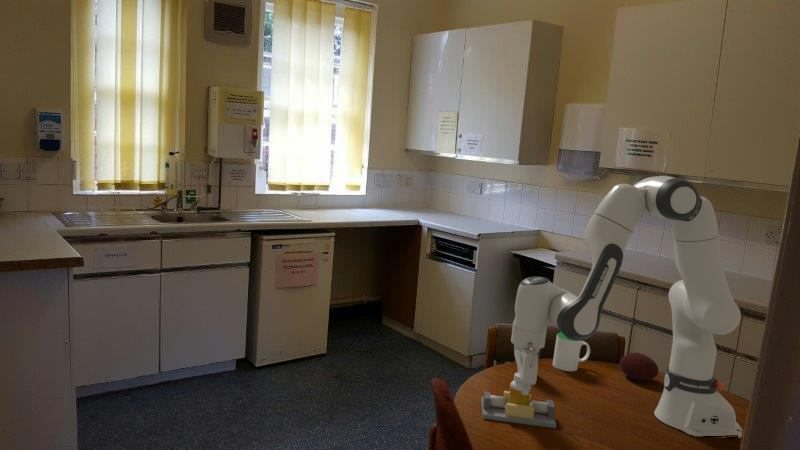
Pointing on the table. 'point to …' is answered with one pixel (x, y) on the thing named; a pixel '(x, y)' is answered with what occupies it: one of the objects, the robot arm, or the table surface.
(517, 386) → the supplement bottle
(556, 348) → the mug
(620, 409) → the table surface
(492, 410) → the grey slotted holder
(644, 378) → the potato
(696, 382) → the robot arm
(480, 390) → the table surface
